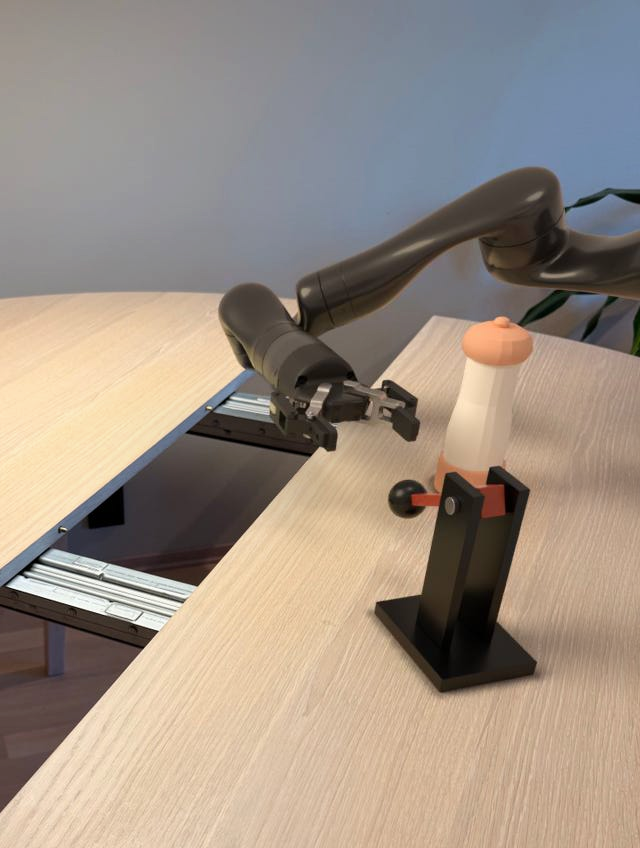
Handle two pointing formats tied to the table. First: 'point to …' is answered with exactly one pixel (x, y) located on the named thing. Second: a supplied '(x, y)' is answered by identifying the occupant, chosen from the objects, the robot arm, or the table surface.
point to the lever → (438, 499)
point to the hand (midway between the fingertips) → (374, 437)
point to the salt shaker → (484, 401)
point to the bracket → (464, 590)
